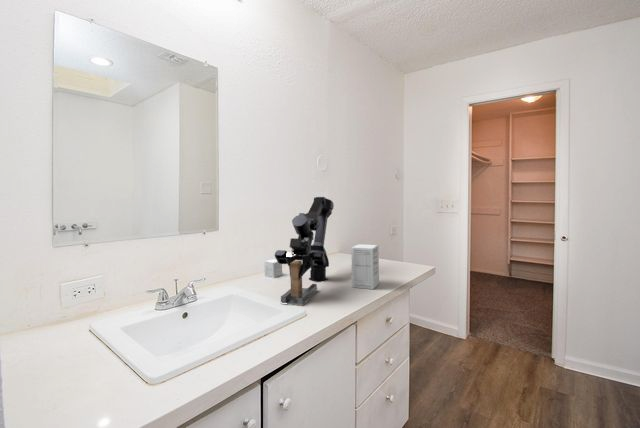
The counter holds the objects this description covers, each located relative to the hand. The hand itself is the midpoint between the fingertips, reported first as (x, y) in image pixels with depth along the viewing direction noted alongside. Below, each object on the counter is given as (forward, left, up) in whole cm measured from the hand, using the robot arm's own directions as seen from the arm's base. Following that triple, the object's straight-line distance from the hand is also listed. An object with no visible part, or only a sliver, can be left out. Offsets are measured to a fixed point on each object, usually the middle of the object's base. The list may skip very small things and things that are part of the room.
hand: (295, 277), depth 113 cm
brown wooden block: (-1, -1, -7) cm, 7 cm away
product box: (-14, -36, -9) cm, 40 cm away
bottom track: (-4, -3, -9) cm, 10 cm away
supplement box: (-34, +5, -9) cm, 35 cm away
